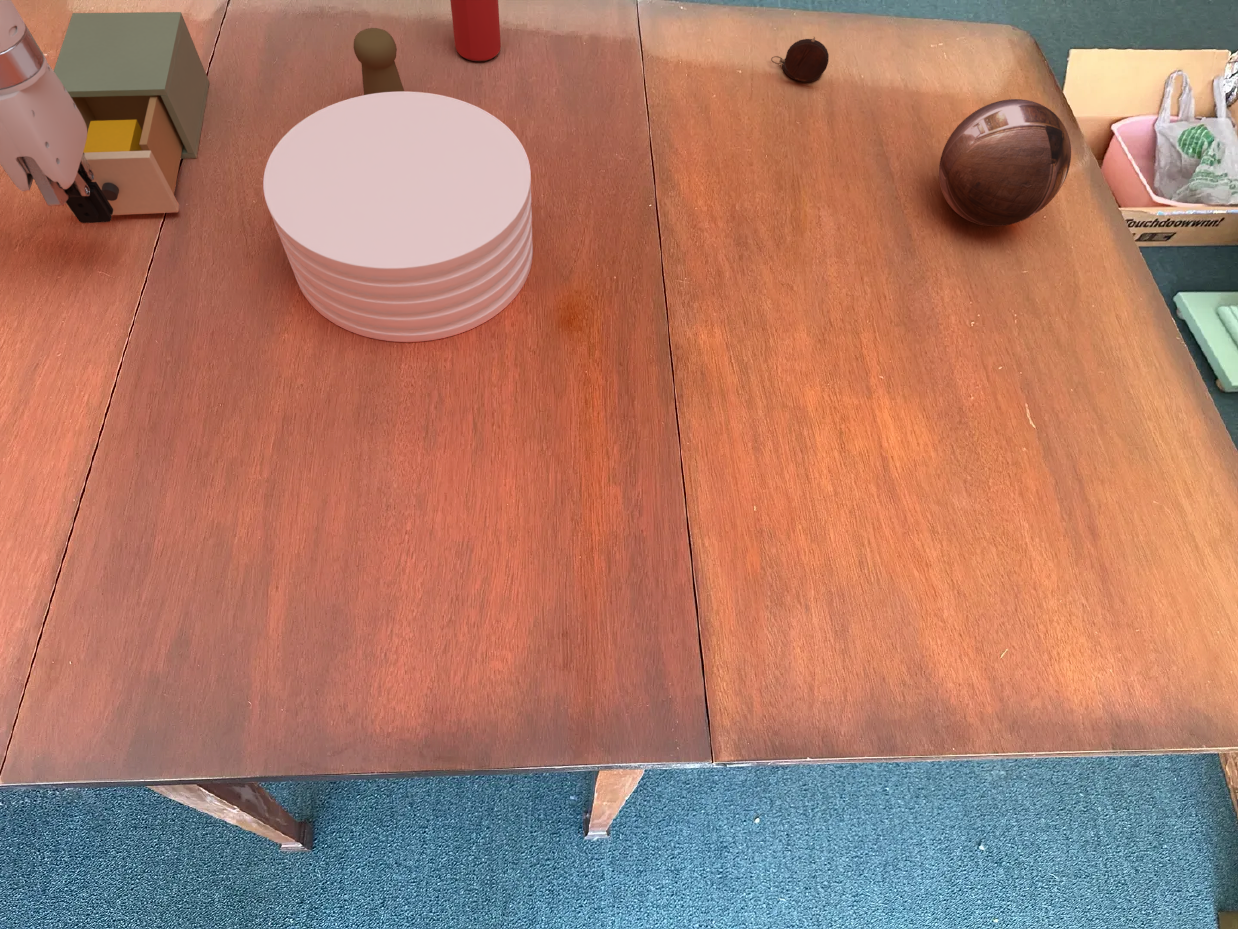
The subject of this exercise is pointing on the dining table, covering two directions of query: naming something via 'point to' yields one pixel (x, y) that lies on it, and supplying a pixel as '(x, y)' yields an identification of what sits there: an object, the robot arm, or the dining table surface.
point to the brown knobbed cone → (377, 61)
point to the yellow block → (113, 136)
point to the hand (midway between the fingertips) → (97, 217)
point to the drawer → (136, 155)
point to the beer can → (476, 28)
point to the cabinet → (137, 64)
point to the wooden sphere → (1005, 162)
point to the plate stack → (403, 214)
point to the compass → (805, 60)
